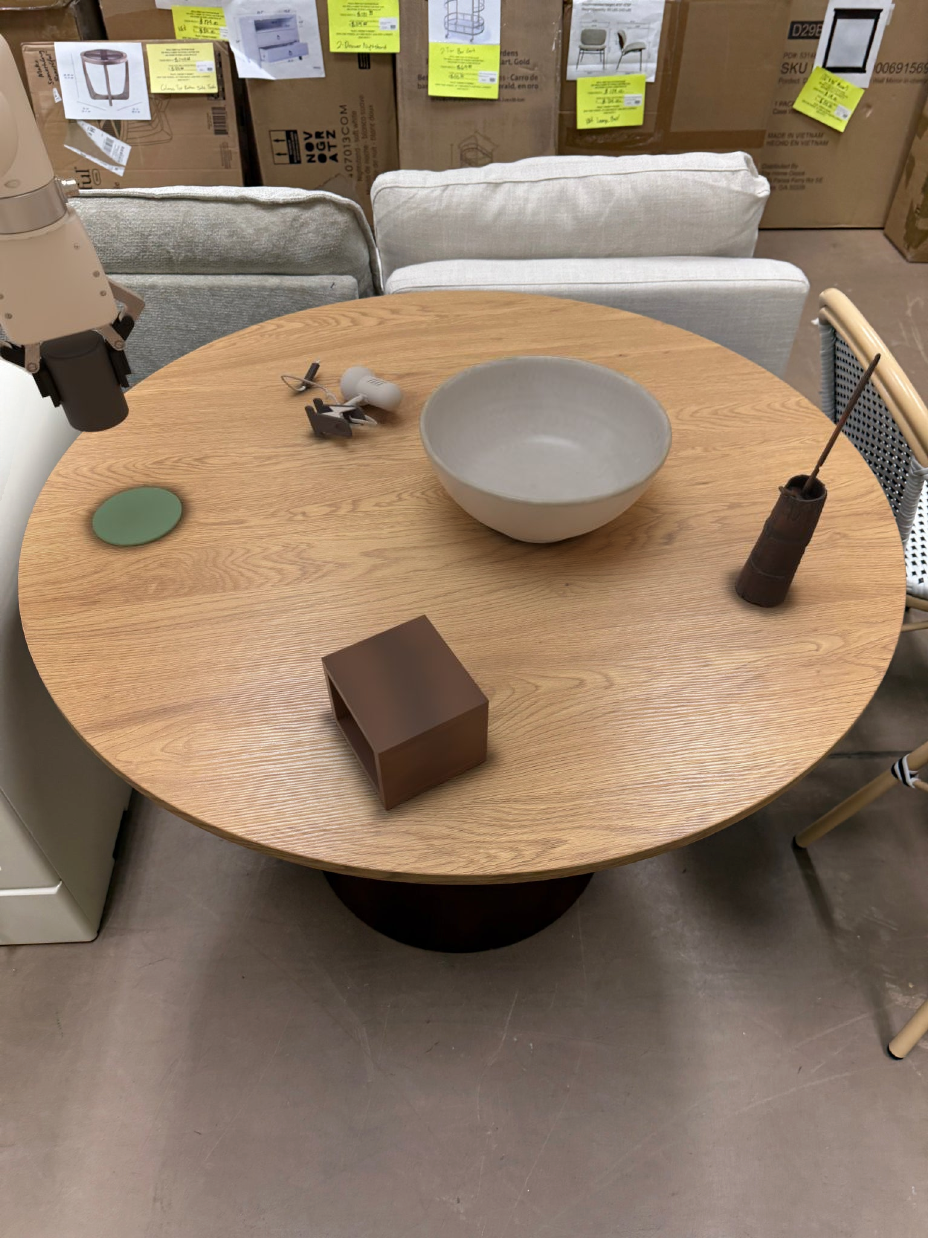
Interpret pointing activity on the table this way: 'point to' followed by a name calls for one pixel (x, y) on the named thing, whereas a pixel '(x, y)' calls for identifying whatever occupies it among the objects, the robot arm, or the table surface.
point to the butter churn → (790, 526)
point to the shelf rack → (407, 709)
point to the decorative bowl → (544, 444)
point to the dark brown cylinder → (85, 381)
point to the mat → (137, 516)
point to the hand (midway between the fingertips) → (89, 389)
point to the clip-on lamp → (357, 390)
